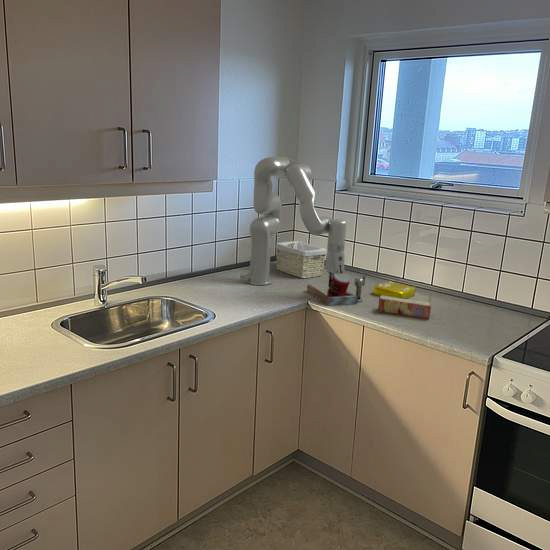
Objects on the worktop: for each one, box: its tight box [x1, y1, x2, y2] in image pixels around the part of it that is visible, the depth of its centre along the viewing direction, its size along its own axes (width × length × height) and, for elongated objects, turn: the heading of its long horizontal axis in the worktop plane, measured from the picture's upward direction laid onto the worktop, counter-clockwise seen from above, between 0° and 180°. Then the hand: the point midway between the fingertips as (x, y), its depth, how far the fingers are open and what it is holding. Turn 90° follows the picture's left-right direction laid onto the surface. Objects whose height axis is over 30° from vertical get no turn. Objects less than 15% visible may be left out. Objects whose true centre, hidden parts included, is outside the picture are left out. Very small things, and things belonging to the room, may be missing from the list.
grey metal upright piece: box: [353, 275, 366, 303], centre depth 244 cm, size 4×4×11 cm
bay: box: [306, 284, 358, 307], centre depth 248 cm, size 14×22×4 cm, turn 21°
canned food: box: [326, 272, 352, 297], centre depth 242 cm, size 8×8×11 cm
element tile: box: [373, 280, 416, 300], centre depth 258 cm, size 15×15×5 cm
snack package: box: [377, 296, 432, 320], centre depth 231 cm, size 21×7×7 cm, turn 74°
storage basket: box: [275, 240, 327, 279], centre depth 287 cm, size 24×16×15 cm
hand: (332, 287), depth 248 cm, fingers closed
